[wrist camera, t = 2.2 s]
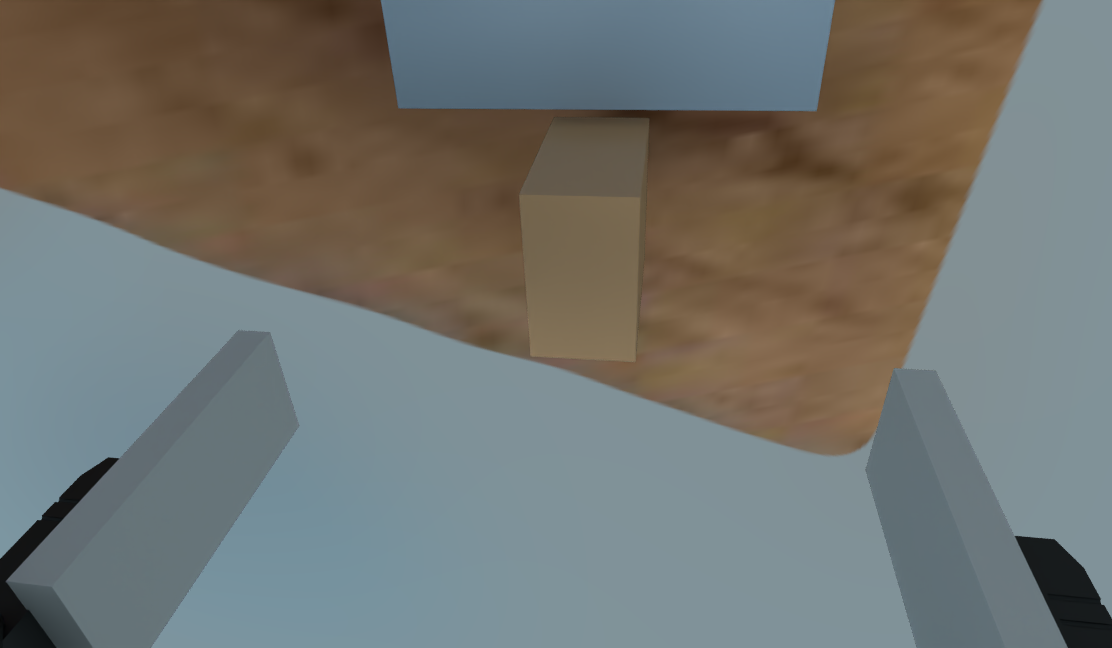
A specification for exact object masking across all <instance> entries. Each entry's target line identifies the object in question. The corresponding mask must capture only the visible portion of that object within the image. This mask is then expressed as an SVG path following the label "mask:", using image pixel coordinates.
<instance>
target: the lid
mask: <svg viewBox="0 0 1112 648" xmlns="http://www.w3.org/2000/svg"><path fill="white" fill-rule="evenodd" d="M834 3H835V0H381V4H382V10H383V16H384V22H385V28H386V35H387V41H388V47H389V53H390V59H391V65H392V71H393V78H394V84H395V90H396V96H397V102H398V108H423V109H583V110H742V111H817V105H818V99H819V93H820V87H821V81H822V75H823V69H824V63H825V57H826V51H827V45H828V39H829V33H830V27H831V21H832V15H833V9H834ZM648 145H649V118H601V117H554V119H553V121H552V123H551V125H550V127H549V130H548V132H547V134H546V136H545V138H544V141H543V143H542V145H541V147H540V149H539V152H538V154H537V156H536V158H535V160H534V163H533V165H532V167H531V169H530V171H529V174H528V176H527V178H526V180H525V182H524V185H523V187H522V189H521V191H520V193H519V202H520V216H521V230H522V243H523V257H524V271H525V284H526V298H527V312H528V326H529V339H530V353H531V356H535V357H552V358H570V359H588V360H606V361H624V362H636V351H637V340H638V328H639V317H640V305H641V294H642V282H643V271H644V260H645V232H646V203H647V174H648Z"/></svg>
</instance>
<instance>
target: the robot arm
mask: <svg viewBox="0 0 1112 648" xmlns="http://www.w3.org/2000/svg"><path fill="white" fill-rule="evenodd" d="M298 427H299V423H298V420H297V417H296V414H295V410H294V407H293V404H292V401H291V398H290V395H289V391H288V388H287V385H286V382H285V378H284V375H283V372H282V369H281V366H280V362H279V359H278V356H277V353H276V350H275V346H274V343H273V340H272V337H271V334H270V332H257V331H237V332H236V333H235V334H234V336H233V337H232V338H231V339H230V340H229V341H228V342H227V343H226V344H225V345H224V346H223V347H222V349H221V350H220V351H219V352H218V353H217V354H216V355H215V356H214V357H213V358H212V359H211V360H210V362H209V363H208V364H207V365H206V366H205V367H204V368H203V369H202V370H201V371H200V372H199V373H198V375H196V377H195V378H194V379H193V380H192V381H191V382H190V383H189V384H188V385H187V386H186V387H185V389H184V390H183V391H182V392H181V393H180V394H179V395H178V396H177V397H176V398H175V399H174V400H173V401H172V402H171V404H170V405H169V406H168V407H167V408H166V409H165V410H164V411H163V412H162V413H161V414H160V416H159V417H158V418H157V419H156V420H155V421H154V422H153V423H152V424H151V425H150V426H149V427H148V428H147V429H146V431H145V432H144V433H143V434H142V435H141V436H140V437H139V438H138V439H137V440H136V441H135V442H134V444H133V445H132V446H131V447H130V448H129V449H128V450H127V451H126V452H125V453H124V454H123V456H121V458H107V459H105V460H104V461H102V462H101V463H100V464H98V465H96V466H95V467H93V468H92V469H90V470H89V471H87V472H86V473H84V474H82V475H81V476H80V477H79V478H78V479H77V480H76V481H75V482H74V483H73V484H72V485H71V486H70V487H69V488H68V489H67V490H66V491H65V492H64V493H63V494H62V495H61V497H60V498H59V502H55V503H54V504H53V505H52V506H51V507H50V508H49V509H48V510H47V511H46V512H45V513H44V514H43V515H42V520H37V521H36V522H35V524H34V525H33V526H32V527H31V528H30V529H29V530H28V531H27V532H26V533H25V534H24V535H23V536H22V537H21V538H20V539H19V540H18V541H17V542H16V543H15V544H14V545H13V546H12V547H11V549H10V550H8V552H6V554H5V555H4V556H3V557H2V558H1V559H0V648H151V647H152V645H153V644H154V642H155V641H156V639H157V638H158V636H159V635H160V633H161V632H162V630H163V629H164V627H165V626H166V624H167V623H168V621H169V620H170V618H171V617H172V615H173V614H174V612H175V611H176V609H177V608H178V606H179V605H180V603H181V602H182V601H183V599H184V597H185V596H186V595H187V593H188V592H189V590H190V589H191V587H192V586H193V584H194V583H195V581H196V579H197V578H198V577H199V575H200V574H201V572H202V570H203V569H204V567H205V566H206V565H207V563H208V562H209V560H210V559H211V557H212V555H213V554H214V552H215V551H216V550H217V548H218V547H219V545H220V544H221V542H222V541H223V539H224V538H225V536H226V535H227V533H228V532H229V530H230V529H231V527H232V526H233V524H234V523H235V521H236V520H237V518H238V517H239V515H240V514H241V512H242V511H243V509H244V508H245V506H246V505H247V503H248V502H249V500H250V499H251V497H252V496H253V494H254V493H255V491H256V490H257V488H258V487H259V485H260V484H261V482H262V481H263V479H264V478H265V476H266V475H267V473H268V472H269V470H270V469H271V467H272V466H273V464H274V463H275V461H276V460H277V458H278V457H279V455H280V454H281V452H282V450H283V449H284V448H285V446H286V445H287V443H288V442H289V440H290V439H291V438H292V436H293V435H294V433H295V432H296V430H297V428H298ZM866 473H867V477H868V480H869V484H870V487H871V491H872V494H873V498H874V501H875V504H876V508H877V511H878V515H879V518H880V522H881V525H882V529H883V532H884V536H885V539H886V543H887V546H888V550H889V553H890V557H891V560H892V564H893V567H894V570H895V574H896V578H897V581H898V584H899V588H900V591H901V595H902V598H903V602H904V605H905V609H906V612H907V616H908V619H909V622H910V626H911V630H912V633H913V637H914V640H915V644H916V647H917V648H1112V619H1111V617H1110V615H1109V613H1108V611H1107V610H1106V607H1105V606H1104V605H1101V602H1100V600H1101V599H1100V597H1099V595H1098V593H1097V591H1096V589H1095V588H1094V586H1093V584H1092V582H1091V580H1090V578H1089V577H1088V575H1087V573H1086V571H1085V569H1084V568H1083V567H1082V566H1081V565H1080V564H1079V563H1078V562H1077V561H1076V560H1075V559H1074V558H1073V557H1072V556H1071V555H1070V554H1069V553H1068V552H1067V551H1066V550H1065V549H1064V548H1063V547H1062V546H1061V545H1060V544H1059V543H1058V542H1057V541H1056V540H1054V539H1043V538H1032V537H1022V536H1014V534H1013V532H1012V530H1011V528H1010V526H1009V524H1008V521H1007V519H1006V518H1005V515H1004V513H1003V511H1002V509H1001V507H1000V505H999V502H998V500H997V498H996V496H995V494H994V492H993V490H992V488H991V486H990V484H989V482H988V479H987V477H986V475H985V473H984V471H983V469H982V467H981V465H980V463H979V460H978V459H977V456H976V454H975V452H974V450H973V448H972V446H971V444H970V442H969V440H968V437H967V435H966V433H965V431H964V429H963V427H962V425H961V423H960V421H959V419H958V416H957V414H956V412H955V410H954V408H953V406H952V404H951V402H950V400H949V397H948V396H947V393H946V391H945V389H944V387H943V385H942V383H941V381H940V379H939V376H938V374H937V372H936V371H932V370H914V369H898V368H894V370H893V374H892V377H891V381H890V384H889V388H888V392H887V395H886V399H885V402H884V406H883V409H882V413H881V417H880V420H879V424H878V427H877V431H876V434H875V438H874V442H873V445H872V449H871V452H870V456H869V459H868V463H867V467H866Z"/></svg>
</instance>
